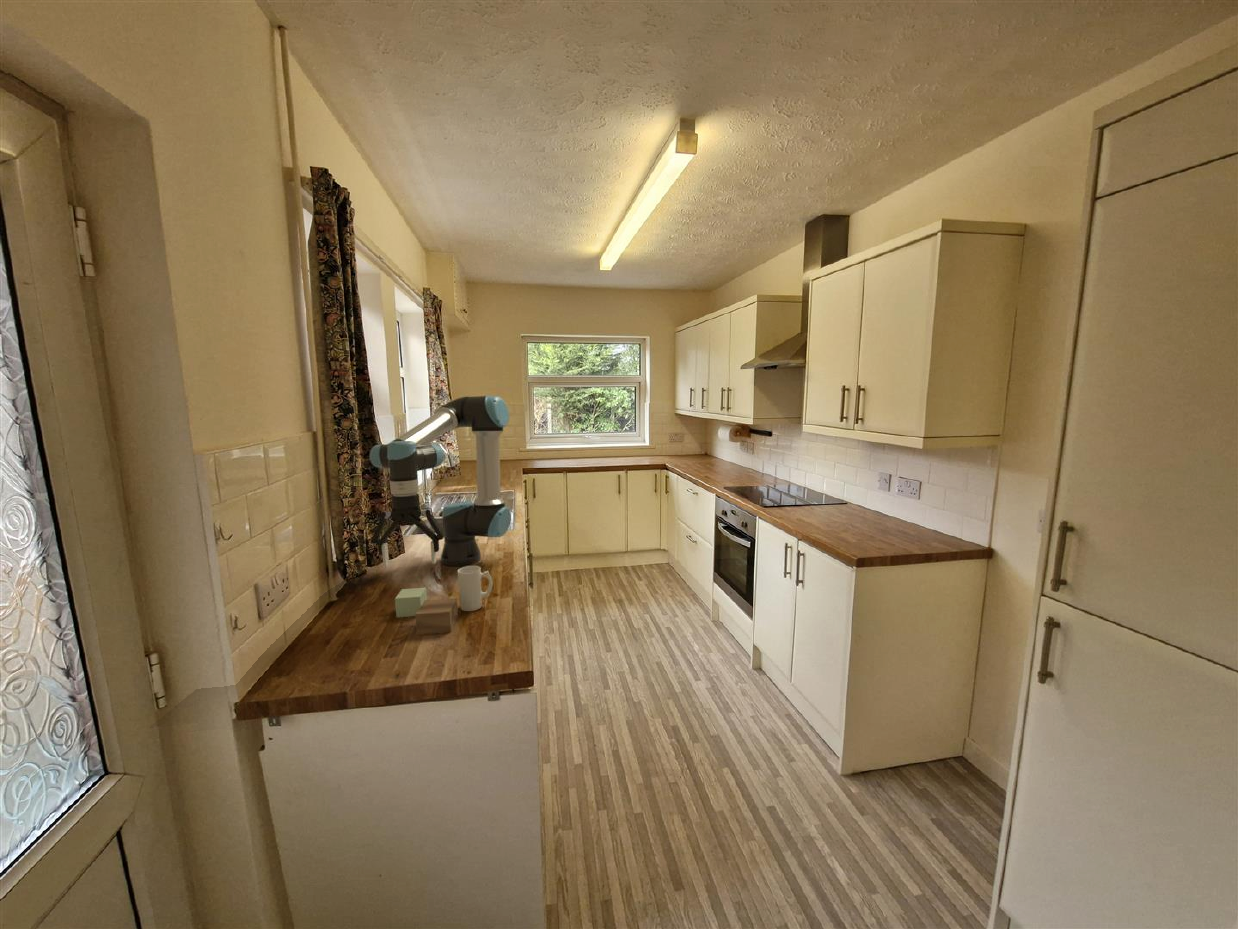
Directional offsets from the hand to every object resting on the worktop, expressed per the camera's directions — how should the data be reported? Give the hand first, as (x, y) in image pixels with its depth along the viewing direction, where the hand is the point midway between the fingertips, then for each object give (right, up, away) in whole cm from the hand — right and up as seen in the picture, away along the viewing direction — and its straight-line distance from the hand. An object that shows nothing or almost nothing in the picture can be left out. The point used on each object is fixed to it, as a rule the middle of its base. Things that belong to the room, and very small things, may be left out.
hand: (410, 564), depth 141 cm
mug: (+18, -14, +5) cm, 24 cm away
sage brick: (0, -15, +2) cm, 15 cm away
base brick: (+11, -16, -7) cm, 21 cm away
